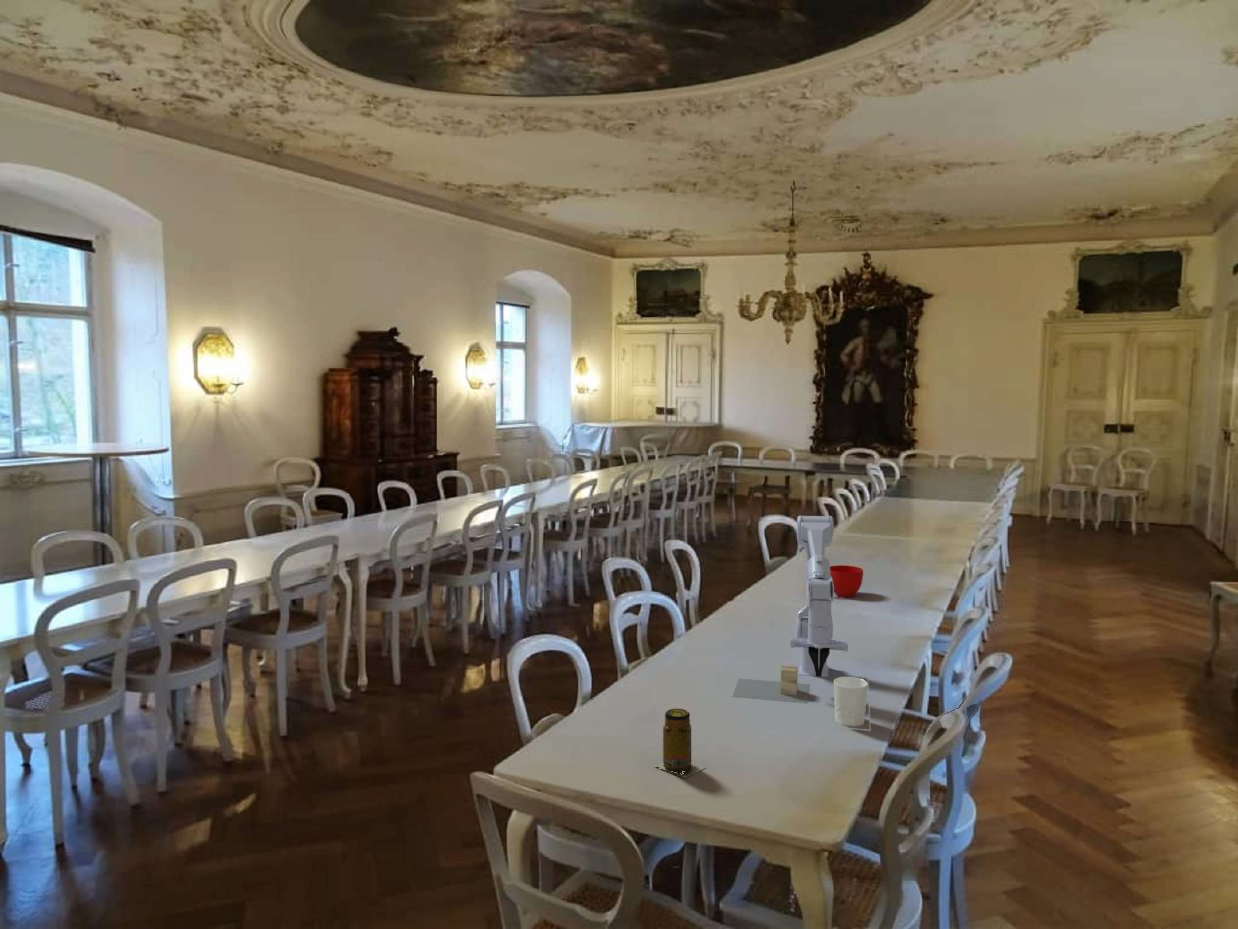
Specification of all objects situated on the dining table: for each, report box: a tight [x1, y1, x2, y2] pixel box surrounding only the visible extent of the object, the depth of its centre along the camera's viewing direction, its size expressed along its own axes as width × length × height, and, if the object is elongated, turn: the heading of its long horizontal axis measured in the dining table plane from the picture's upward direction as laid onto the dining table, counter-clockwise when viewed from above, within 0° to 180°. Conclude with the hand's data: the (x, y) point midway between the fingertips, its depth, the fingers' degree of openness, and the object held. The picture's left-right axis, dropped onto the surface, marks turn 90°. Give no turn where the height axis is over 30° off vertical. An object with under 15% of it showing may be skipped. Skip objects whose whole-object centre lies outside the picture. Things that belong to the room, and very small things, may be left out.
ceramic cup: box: [830, 564, 864, 598], centre depth 332 cm, size 13×17×10 cm
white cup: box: [833, 676, 869, 727], centre depth 212 cm, size 8×8×10 cm
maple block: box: [780, 664, 799, 695], centre depth 231 cm, size 4×4×6 cm
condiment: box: [653, 707, 707, 779], centre depth 188 cm, size 7×8×12 cm
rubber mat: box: [732, 677, 811, 704], centre depth 233 cm, size 14×19×1 cm
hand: (818, 675), depth 229 cm, fingers closed
